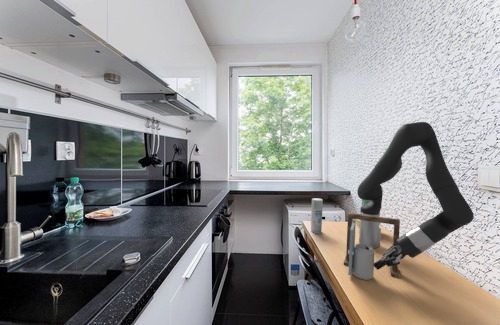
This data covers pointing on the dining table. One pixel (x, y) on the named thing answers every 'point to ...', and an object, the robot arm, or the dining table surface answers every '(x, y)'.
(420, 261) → the dining table surface
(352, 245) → the door
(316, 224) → the spray can
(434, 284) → the dining table surface
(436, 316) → the dining table surface
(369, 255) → the can
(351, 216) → the door frame
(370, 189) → the robot arm
